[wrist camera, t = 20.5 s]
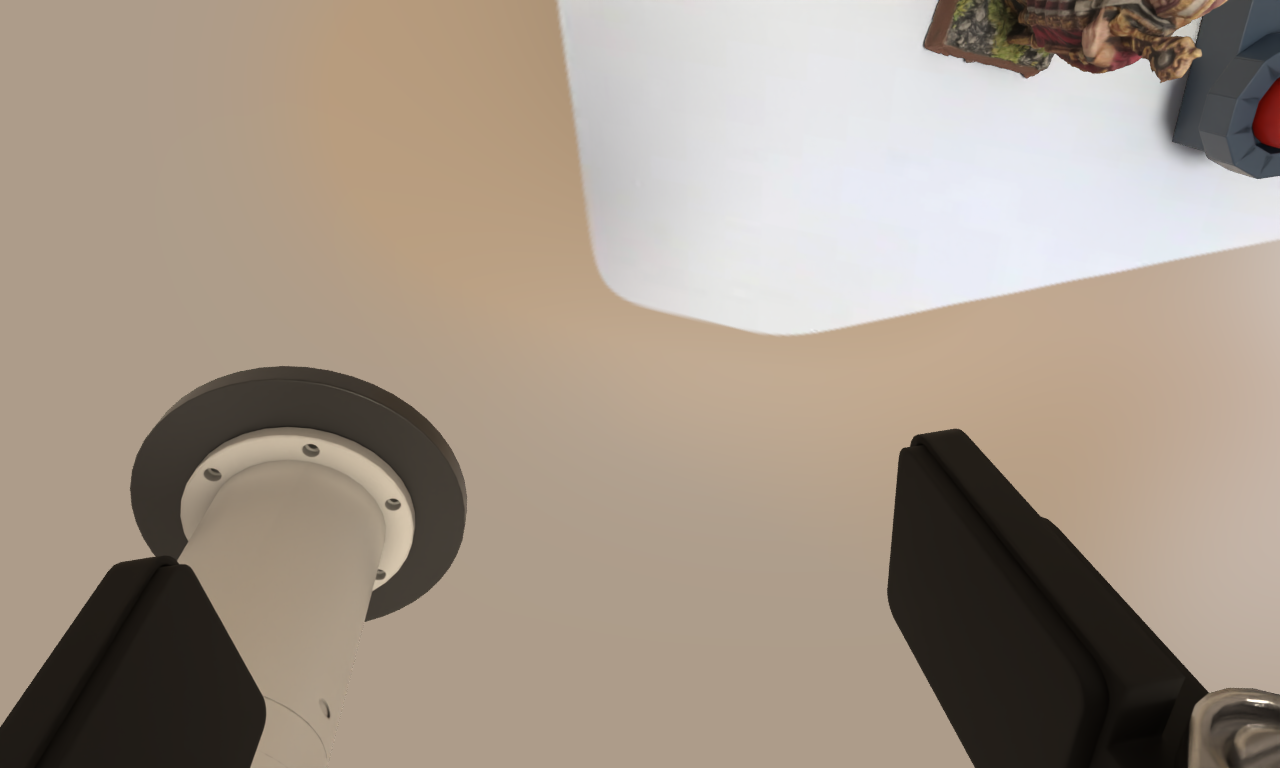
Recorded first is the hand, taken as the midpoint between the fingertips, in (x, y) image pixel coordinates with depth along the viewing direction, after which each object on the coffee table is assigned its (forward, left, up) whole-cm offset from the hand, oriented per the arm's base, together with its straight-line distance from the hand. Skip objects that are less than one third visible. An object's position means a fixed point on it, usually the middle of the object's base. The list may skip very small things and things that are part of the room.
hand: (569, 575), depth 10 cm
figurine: (+12, -19, -31) cm, 38 cm away
